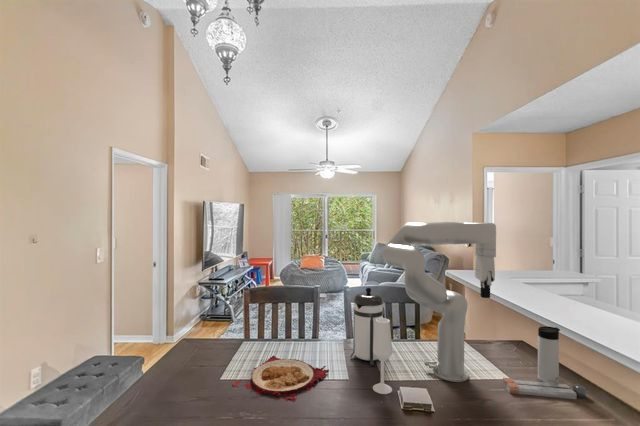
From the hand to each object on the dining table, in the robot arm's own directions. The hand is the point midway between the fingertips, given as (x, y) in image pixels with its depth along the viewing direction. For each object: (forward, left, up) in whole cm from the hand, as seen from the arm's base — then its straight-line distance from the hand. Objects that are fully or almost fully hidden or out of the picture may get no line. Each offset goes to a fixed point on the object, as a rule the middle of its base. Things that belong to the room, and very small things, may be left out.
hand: (485, 297), depth 133 cm
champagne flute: (-42, -27, -27) cm, 57 cm away
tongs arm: (+11, -21, -27) cm, 36 cm away
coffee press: (-47, -3, -27) cm, 54 cm away
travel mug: (+18, -12, -27) cm, 35 cm away
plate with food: (-78, -27, -28) cm, 87 cm away
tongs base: (+13, -19, -27) cm, 36 cm away
